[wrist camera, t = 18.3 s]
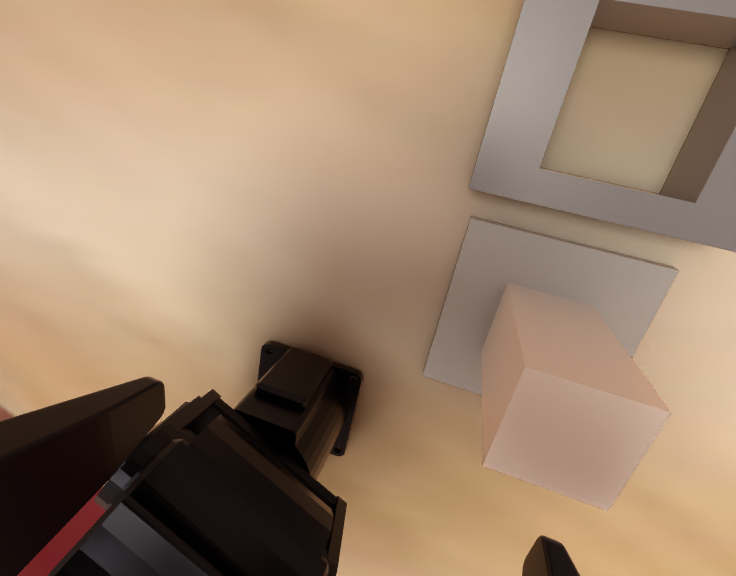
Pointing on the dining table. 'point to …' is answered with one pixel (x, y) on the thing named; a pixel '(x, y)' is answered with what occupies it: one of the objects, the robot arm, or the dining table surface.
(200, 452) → the robot arm
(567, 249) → the mat
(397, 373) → the dining table surface
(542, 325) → the plug
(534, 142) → the socket block
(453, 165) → the dining table surface
